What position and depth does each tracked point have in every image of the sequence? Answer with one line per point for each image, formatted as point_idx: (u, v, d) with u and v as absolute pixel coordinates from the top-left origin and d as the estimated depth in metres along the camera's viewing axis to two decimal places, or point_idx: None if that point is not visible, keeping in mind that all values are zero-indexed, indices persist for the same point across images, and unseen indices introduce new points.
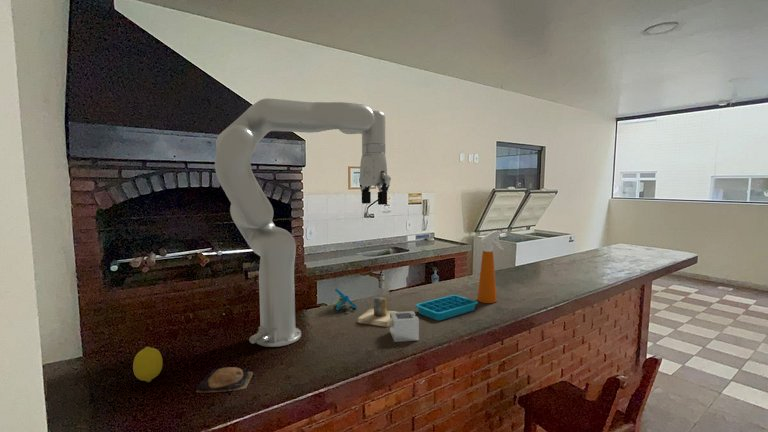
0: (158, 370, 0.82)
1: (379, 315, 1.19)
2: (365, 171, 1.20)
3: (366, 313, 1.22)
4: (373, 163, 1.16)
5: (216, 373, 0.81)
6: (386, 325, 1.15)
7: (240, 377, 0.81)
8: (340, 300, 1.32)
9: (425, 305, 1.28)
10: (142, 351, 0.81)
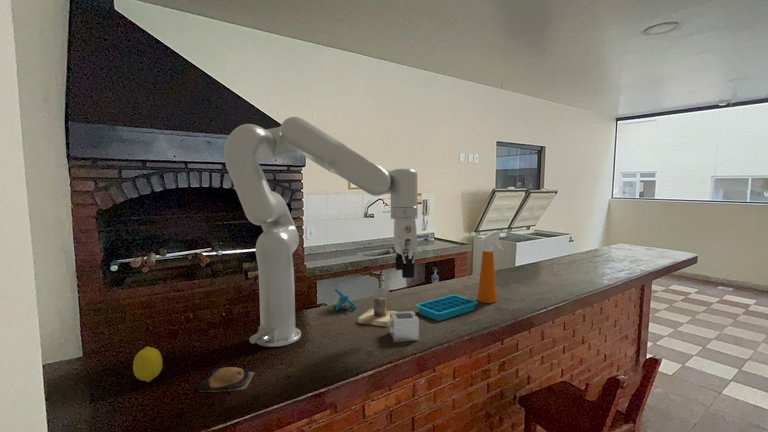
0: (158, 370, 0.82)
1: (379, 315, 1.19)
2: None
3: (366, 313, 1.22)
4: None
5: (217, 373, 0.81)
6: (386, 325, 1.15)
7: (240, 377, 0.81)
8: (340, 300, 1.32)
9: (425, 305, 1.28)
10: (142, 351, 0.81)
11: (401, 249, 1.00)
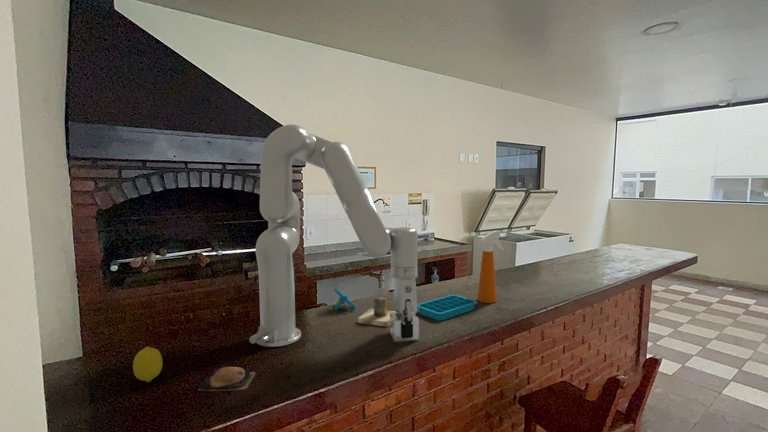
0: (158, 370, 0.82)
1: (379, 315, 1.19)
2: None
3: (366, 313, 1.22)
4: None
5: (218, 372, 0.81)
6: (386, 325, 1.15)
7: (241, 377, 0.81)
8: (339, 300, 1.32)
9: (425, 305, 1.28)
10: (142, 351, 0.81)
11: (401, 309, 1.02)
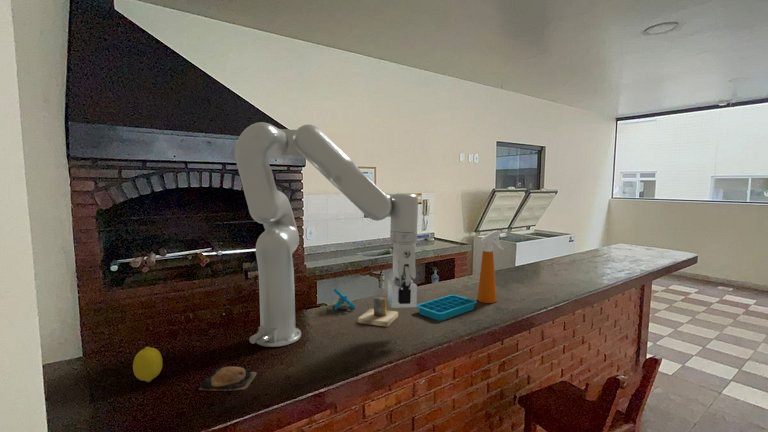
0: (158, 370, 0.82)
1: (379, 315, 1.19)
2: None
3: (366, 313, 1.22)
4: None
5: (219, 372, 0.82)
6: (386, 325, 1.15)
7: (242, 377, 0.81)
8: (339, 300, 1.32)
9: (425, 306, 1.28)
10: (142, 351, 0.81)
11: (399, 274, 1.01)
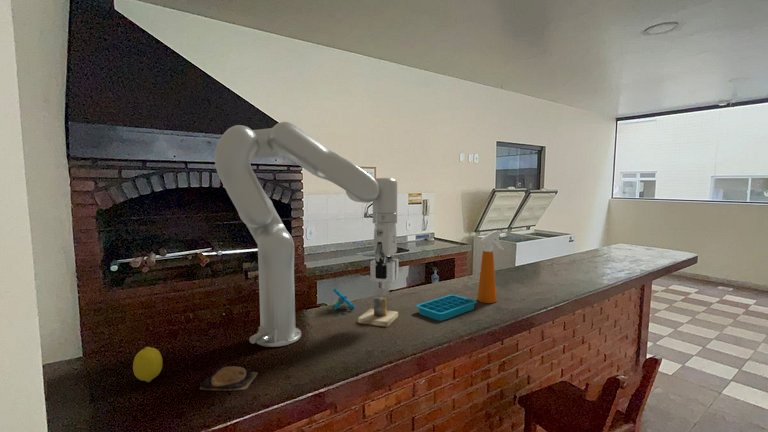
0: (158, 370, 0.82)
1: (379, 315, 1.19)
2: (392, 240, 1.13)
3: (366, 313, 1.22)
4: None
5: (220, 371, 0.82)
6: (386, 325, 1.15)
7: (242, 377, 0.81)
8: (338, 300, 1.32)
9: (425, 306, 1.28)
10: (142, 351, 0.81)
11: (374, 250, 1.11)
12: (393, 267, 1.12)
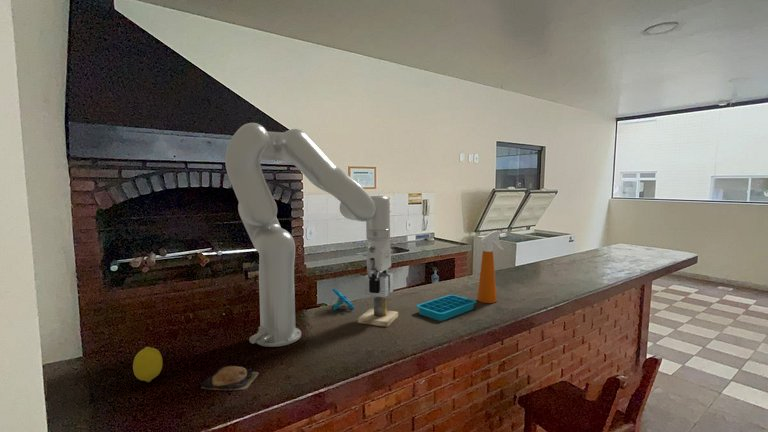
0: (158, 370, 0.82)
1: (379, 315, 1.19)
2: (385, 256, 1.18)
3: (366, 313, 1.22)
4: None
5: (220, 371, 0.82)
6: (386, 325, 1.15)
7: (242, 377, 0.81)
8: (338, 300, 1.32)
9: (425, 306, 1.28)
10: (142, 351, 0.81)
11: (367, 266, 1.16)
12: (386, 282, 1.16)
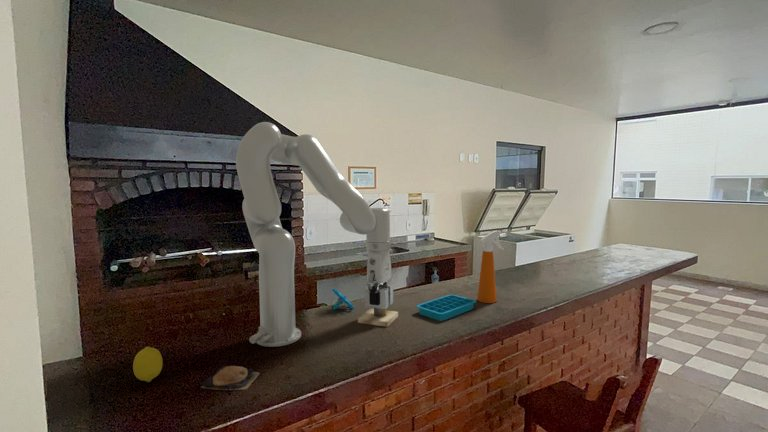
0: (158, 370, 0.82)
1: (379, 315, 1.19)
2: (385, 268, 1.18)
3: (366, 313, 1.22)
4: (390, 258, 1.22)
5: (221, 371, 0.82)
6: (386, 325, 1.15)
7: (243, 377, 0.81)
8: (338, 300, 1.32)
9: (425, 306, 1.28)
10: (142, 351, 0.81)
11: (367, 278, 1.16)
12: (386, 294, 1.17)
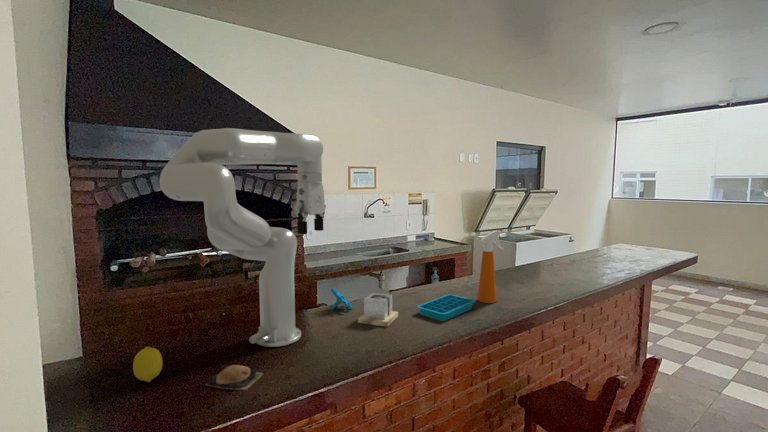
0: (158, 370, 0.82)
1: None
2: (316, 199, 1.18)
3: None
4: (323, 192, 1.22)
5: (225, 369, 0.83)
6: (386, 325, 1.15)
7: (244, 377, 0.81)
8: (336, 300, 1.32)
9: (426, 306, 1.27)
10: (142, 351, 0.81)
11: None
12: (385, 304, 1.17)
